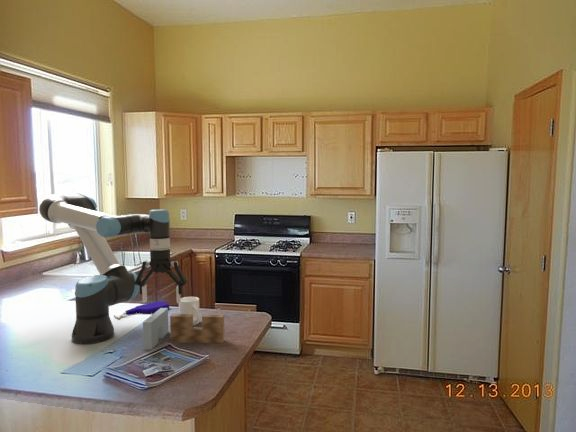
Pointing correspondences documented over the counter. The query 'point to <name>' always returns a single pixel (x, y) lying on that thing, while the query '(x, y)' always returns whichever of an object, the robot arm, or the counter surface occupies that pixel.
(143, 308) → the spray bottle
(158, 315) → the grey flat rectangular block
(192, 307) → the mug
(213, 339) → the walnut board
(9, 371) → the counter surface
